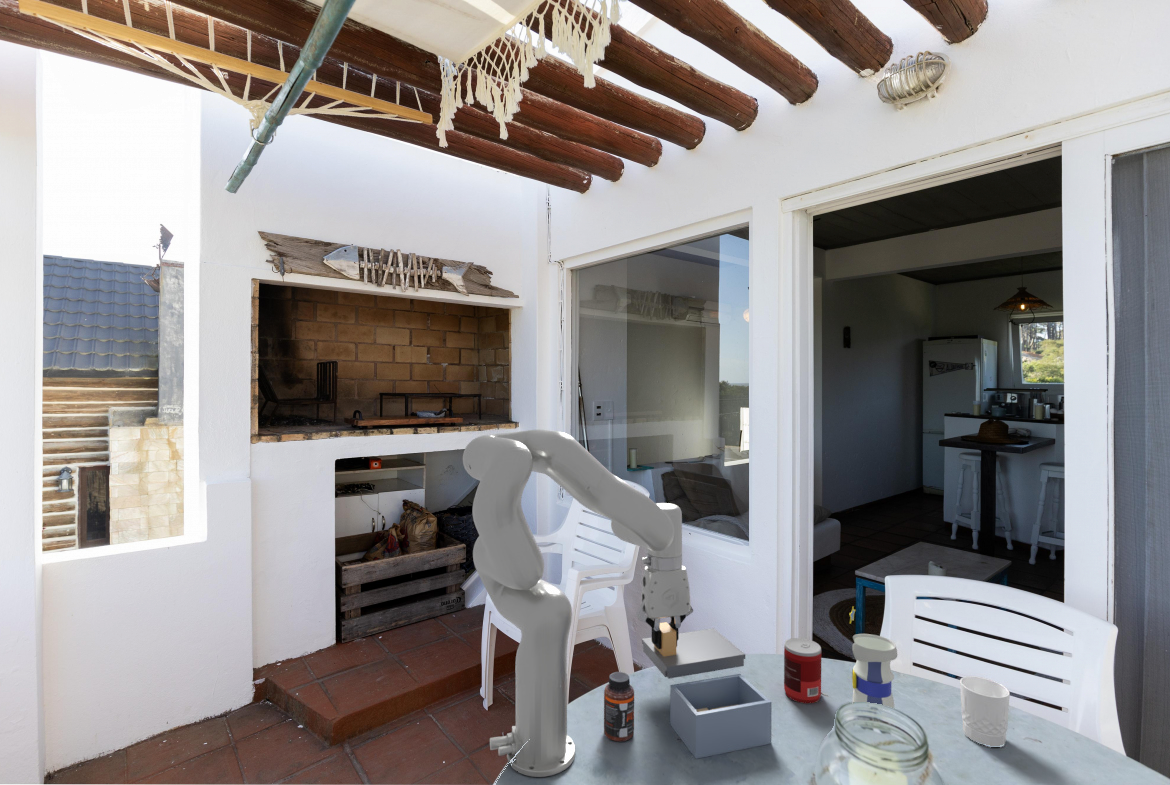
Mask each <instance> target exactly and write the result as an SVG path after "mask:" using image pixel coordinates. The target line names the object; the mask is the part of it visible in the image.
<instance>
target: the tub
mask: <svg viewBox="0 0 1170 785" xmlns="http://www.w3.org/2000/svg"><path fill="white" fill-rule="evenodd" d="M669 691H670V694H669V695H670V700H669V701H670V705H669V706H670V707H669V711H670V713H669V715H670V716H669V717H670V718H669V721H670V722H669V723H670V724H669V725H670V726H671V727H672V729H673V730H674V731H675V732H676V734H677V735H678V737H679V739H681V741H682V742H683V743H684V745H685V746H686V748H687V750H689V752H690V753H691V754H692V756H693V757H694V758H695V760H696V759H697V760H698V759H702V758H706V757H711V756H717V755H721V754H726V753H730V752H737V751H741V750H745V749H747V750H748V749H750V748H756V747H760V746H765V745H771V744H772V709H773V708H772V705H773V704H772V701H771V700H770V699H769V698H768V697H767V696H765V695H764V693H763V692H761V691H760V690H759V689H758V688H757V687H755V685H753V684H752V682H750V681H749V680H748V679H747V678H746V677H744V675H742V674H741V673H735V674H730V675H723V676H719V677H713V678H706V679H700V680H695V681H694V680H693V681H687V682H681V683H680V682H679V683H675V684H674V683H673V684H670V690H669Z"/></svg>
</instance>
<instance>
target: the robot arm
mask: <svg viewBox="0 0 1170 785" xmlns="http://www.w3.org/2000/svg"><path fill="white" fill-rule="evenodd" d="M462 465H463V468H464V470H465V471H466V473H467V474H468V475H470V477H472V478H473V479H475V480H477V481H479V484H478V485H477V489H476V492H475V495H474V498H473V502H472V519H473V522H474V525H475V528H476V530H477V533H478V537H477V539H476V540H475V542H474V544H473V550H472V558H473V564H474V568H475V570H476V572H477V574H478V576H479V578H480V580H481V582H482V584H483V586H484V588H485V590H486V592H487V595H488V596H489V599H491V602H492V604H493V605H494V607H495V609H496V610H497V612H498V613H499V614H500V616H502V618H504V619H505V620H507V621H508V622H509V623H511V624H512V625H514V626H515V627H516V628H517V629H519V631H520V633H521V638H520V642H519V644H518V646H517V650H516V654H515V655H516V656H515V669H514V670H515V725H512V726H511V732H508V733H506V735H503V736H494V737H490V738H489V748H490V750H491V751H493V750H497V752H498V756H499V757H501V756H505V755H506V758H507V763H508V764H509V762H510V760H511V759H512V758H513V757H514V756H515V754H516V753H517V752H518V751H519V750H520V749H521V748H522V746H523V745H524V744H525V743H526V742H527V741H528V742H527V743H526V744H525V745H524V746H523V748H522V749H521V750H520V752H519V753H518V754H517V755H516V757H515V758H514V759H516V760H515V761H514V759H513V761H514V762H513V763H512V762H511V763H510V764H512V766H510V767H511V768H512V769H513V770H515V771H516V772H517V771H518V772H517V773H519V774H521V775H525V776H528V777H532V778H543V777H545V778H546V777H550V776H554V775H557V774H559V773H561V772H563V771H564V770H566V769H567V768H569V767H570V766H571V764H572V763H573V761H574V760H575V757H576V745H575V742H574V741H573V739H572V738H571V737H570V736H569V735H568V647H569V646H568V645H569V636H570V631H571V626H572V622H573V607H572V604H571V601H570V599H569V597H568V596H567V595H566V594H565V593H564V592H563V591H562V590H561V589H560V588H559V587H557V586H556V585H553V584H551V583H549V582H547V581H546V580H543V579H542V578H543V576H544V572H545V560H544V557H543V554H542V553H543V552H542V551H541V549H540V547H539V545H538V543H537V540H536V539H535V537H534V534H533V532H532V530H531V528H530V526H529V524H528V522H527V519H526V517H525V516H526V515H525V514H524V510H523V508H522V507H523V506H522V498H523V493H524V490H525V488H526V486H527V483H528V481H529V479H530V477H531V475H532V472H536V473H539V474H544V475H546V476H547V477H549V478H550V479H551V480H553V481H554V483H556V484H557V485H558V486H560V487H561V489H563V490H565V492H566V493H568V494H569V495H570V496H571V497H572V498H573V499H575V500H576V501H577V502H578V503H579V504H580V505H582V506H583V507H584V508H586V509H588V510H590V511H592V512H593V513H595V514H596V515H597V514H598V515H599V516H602V517H605V518H607V519H610V520H611V521H610V526H611V528H610V529H611V531H612V533H613V534H614V535H615V536H616V537H617V539H619V540H621V541H623V542H626V543H629V544H631V545H634V546H638V547H641V548H643V549H647V550H646V551H647V552H646V554H645V555H646V556H645V557H642V558H641V559H640V561H641V564H642V565H646V566H645V567H644V568H643V569H644V570H643V575H642V580H641V590H640V592H641V593H640V606H639V608H638V610H637V612H636V614H635V617H636V619H637V620H639V621H641V622H643V623H646V624H648V625H649V627H651V637H652V643H653V644H654V645H655V646H656V647H657V648H658V649H661V648H662V635H661V630H660V623H661V619H664V618H669V619H670V620H669V621H670V622H669V623H668V624H669V625H670V626H671V627H672V628H673V629H674V630H675V631H676V647H677V641H678V639H679V629H680V628H681V624H682V623H683V622H684V620H685V619H686V617H688V616H690V615H691V614H693V612H694V609H693V607H692V604H691V592H690V584H689V583H690V582H689V576H688V573H687V567H686V566H684V565H683V515H682V514H683V512H682V510H681V507H679V505H677V504H675V503H671V502H670V503H669V502H668V503H667V502H655V501H654V500H652V499H651V498H649V497H648V496H647V495H645V494H644V493H643V492H641V491H639V490H638V489H637V488H635V487H634V486H632V485H631V484H628V482H626V481H625V480H623V479H621V478H620V477H618V476H617V475H615V474H613V473H612V472H611V471H609V470H608V469H607V468H606V467H605V466H604V465H603V464H602V463H601V462H600V461H599V460H598V459H596V457H594V455H592V454H591V453H590V452H589V451H588V450H587V449H586V448H585V447H584V446H583V445H582V444H581V443H580V442H578V440H576V438H574V437H573V436H572V435H570V434H568V433H566V432H562V431H558V430H557V431H555V430H550V429H549V430H548V429H529V430H521V431H513V432H502V433H493V434H484V435H480V436H477V437H475V438H474V439H472V440H471V441H470V442H468V444H467V445H466V446H465V449H464V451H463V454H462ZM529 739H530V740H529ZM510 764H509V765H510Z"/></svg>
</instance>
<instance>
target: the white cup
mask: <svg viewBox="0 0 1170 785" xmlns="http://www.w3.org/2000/svg"><path fill="white" fill-rule="evenodd" d="M959 682H960V683H959V686H960V688H959V690H960V707H961V718H962V732H963V733H964V735H966V736H965V737H967V736H968V737H969V738H970V739H972V740H974V741H977V742H979V743H982V744H986V745H990V746H1000V745H1003V744H1005V745H1006V743H1005V742H1007V731H1008V722H1009V711H1010V695H1011V694H1010V693H1011V692H1010V690H1009V689H1008V688H1007V687H1005V686H1004V685H1002V684H1000V683H999V682H997V681H994V680H991V679H988V678H985V677H980V676H974V675H973V676H972V675H969V676H963V677H961V678H960V679H959ZM968 737H967V738H968ZM969 738H968V739H969ZM970 739H969V740H970ZM972 740H971V741H972ZM974 741H973V742H974Z"/></svg>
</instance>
